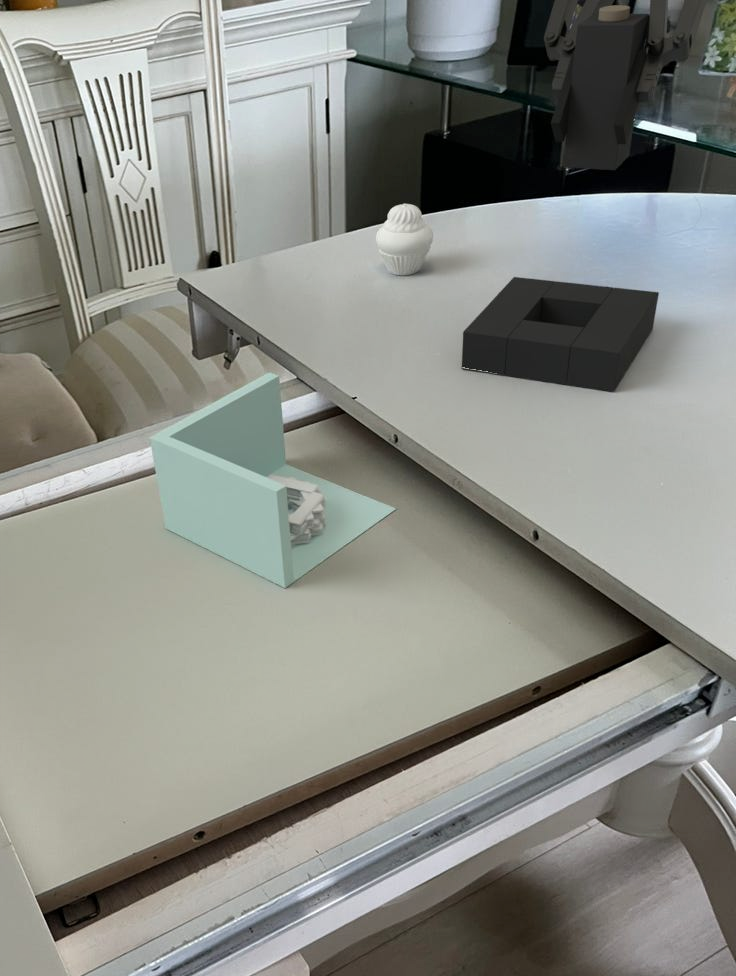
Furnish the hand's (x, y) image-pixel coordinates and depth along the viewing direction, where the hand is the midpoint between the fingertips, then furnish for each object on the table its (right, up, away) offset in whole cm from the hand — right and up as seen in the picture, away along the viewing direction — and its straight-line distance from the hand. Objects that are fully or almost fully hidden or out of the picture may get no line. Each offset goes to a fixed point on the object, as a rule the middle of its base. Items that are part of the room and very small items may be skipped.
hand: (588, 133), depth 85 cm
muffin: (-12, -3, +24) cm, 27 cm away
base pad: (-1, -17, +5) cm, 18 cm away
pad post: (+2, 0, +4) cm, 5 cm away
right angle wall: (-27, -34, -12) cm, 45 cm away
